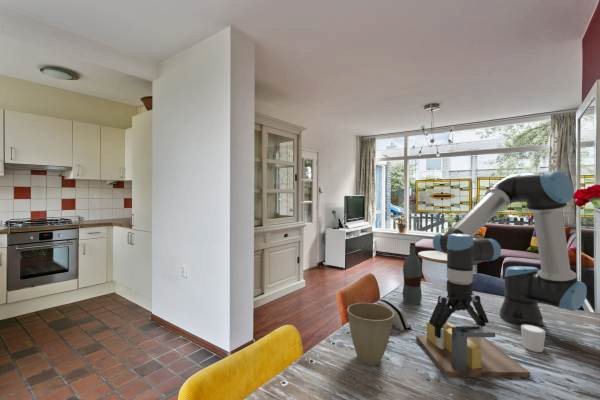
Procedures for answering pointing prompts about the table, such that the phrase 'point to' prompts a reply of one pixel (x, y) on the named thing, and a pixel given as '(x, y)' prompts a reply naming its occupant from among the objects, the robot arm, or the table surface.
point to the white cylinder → (533, 337)
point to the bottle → (412, 278)
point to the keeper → (465, 343)
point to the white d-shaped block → (395, 314)
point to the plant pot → (370, 330)
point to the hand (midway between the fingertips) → (458, 345)
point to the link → (472, 349)
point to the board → (491, 366)
